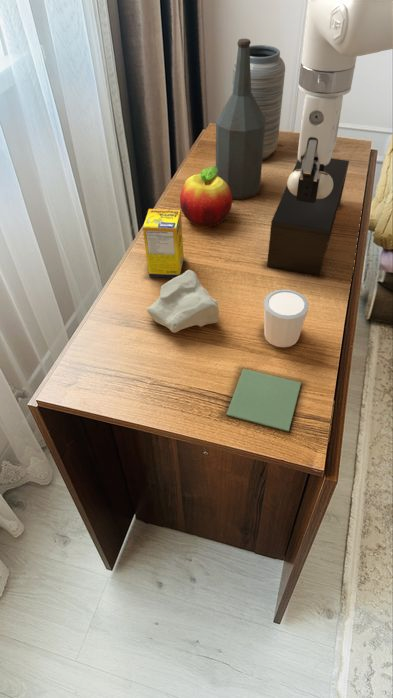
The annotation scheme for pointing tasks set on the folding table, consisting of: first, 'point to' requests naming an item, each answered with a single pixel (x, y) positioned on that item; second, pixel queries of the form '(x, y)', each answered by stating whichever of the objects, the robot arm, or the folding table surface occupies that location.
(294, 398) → the mat
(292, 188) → the cream rounded oblong block
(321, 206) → the long dark rectangular box
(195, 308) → the decorative stone
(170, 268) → the supplement box
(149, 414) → the folding table surface
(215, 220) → the fruit
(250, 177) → the bottle
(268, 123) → the vase
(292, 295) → the white cup
